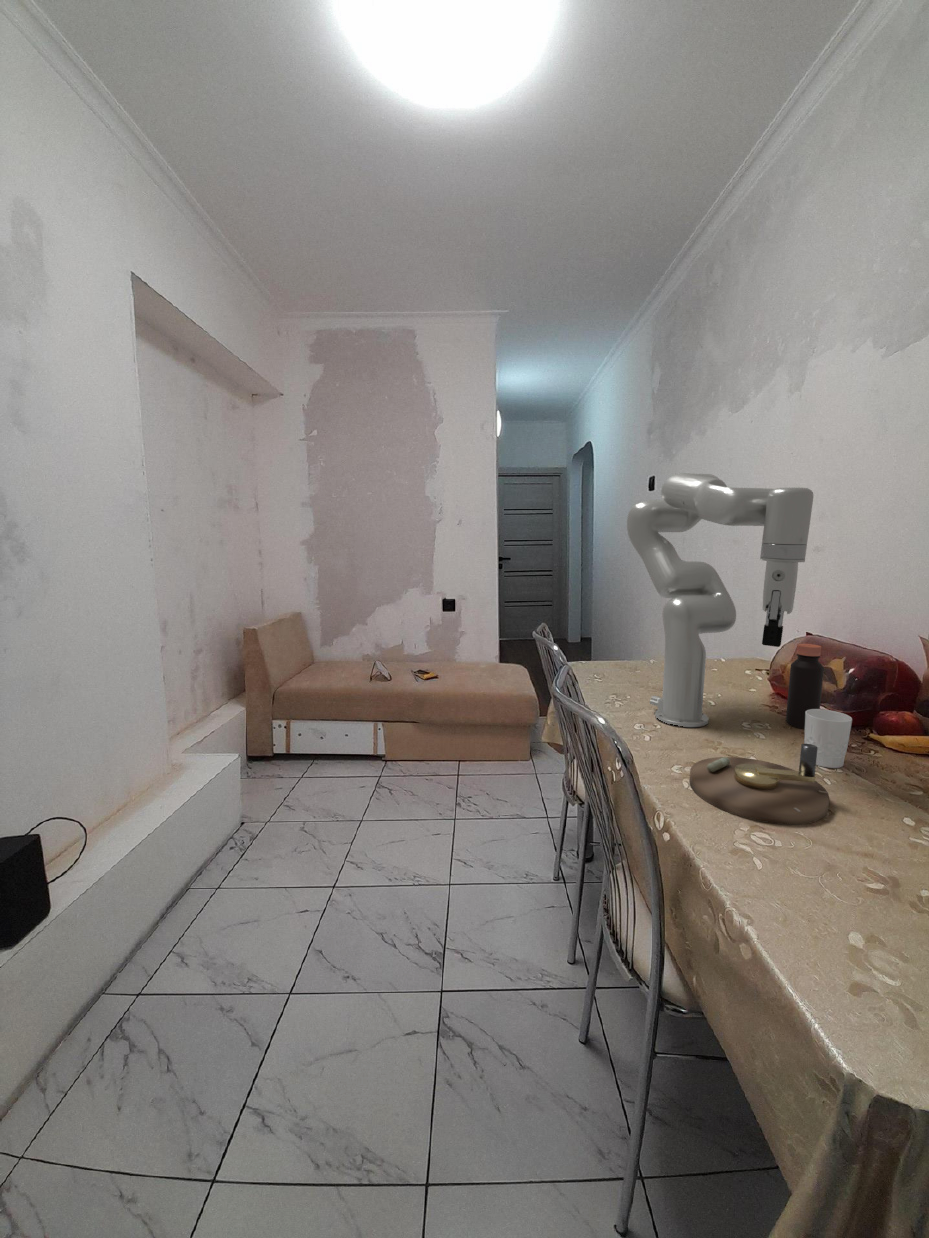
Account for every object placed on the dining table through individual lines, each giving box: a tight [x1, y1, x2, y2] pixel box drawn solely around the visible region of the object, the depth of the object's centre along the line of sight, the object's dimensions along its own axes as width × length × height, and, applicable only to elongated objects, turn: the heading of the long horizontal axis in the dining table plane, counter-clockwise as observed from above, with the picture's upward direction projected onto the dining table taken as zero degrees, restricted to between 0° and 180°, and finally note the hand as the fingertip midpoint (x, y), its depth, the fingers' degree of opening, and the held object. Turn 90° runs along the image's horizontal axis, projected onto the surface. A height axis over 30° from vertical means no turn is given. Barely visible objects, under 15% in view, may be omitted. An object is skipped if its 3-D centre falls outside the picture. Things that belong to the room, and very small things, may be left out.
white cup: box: [803, 708, 853, 769], centre depth 108 cm, size 8×8×10 cm
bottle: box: [785, 643, 825, 730], centre depth 129 cm, size 7×7×20 cm
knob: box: [734, 743, 818, 789], centre depth 95 cm, size 13×7×7 cm, turn 76°
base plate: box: [689, 756, 830, 825], centre depth 96 cm, size 22×22×4 cm
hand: (771, 645), depth 106 cm, fingers closed
